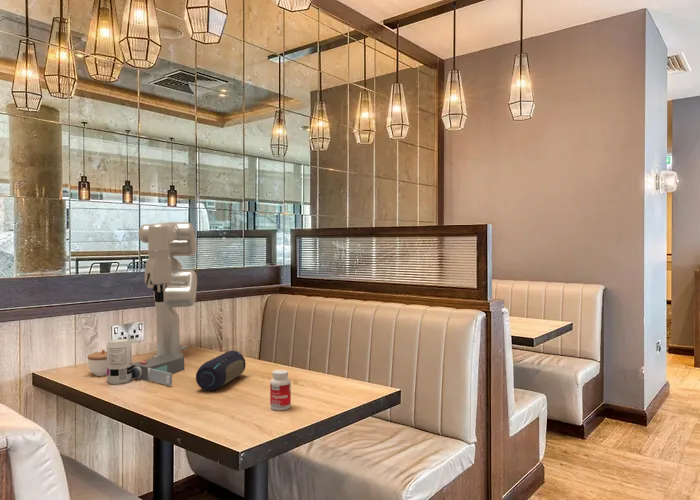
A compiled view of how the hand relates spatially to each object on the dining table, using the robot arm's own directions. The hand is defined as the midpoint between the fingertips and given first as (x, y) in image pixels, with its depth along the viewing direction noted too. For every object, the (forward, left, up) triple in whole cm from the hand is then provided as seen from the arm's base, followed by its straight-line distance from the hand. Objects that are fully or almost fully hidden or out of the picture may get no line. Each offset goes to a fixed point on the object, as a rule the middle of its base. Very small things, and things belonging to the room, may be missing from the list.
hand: (159, 301), depth 203 cm
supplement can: (+19, 0, -27) cm, 33 cm away
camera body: (+5, +4, -27) cm, 28 cm away
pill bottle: (+19, +70, -27) cm, 77 cm away
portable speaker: (+5, +36, -27) cm, 45 cm away
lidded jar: (+14, -15, -27) cm, 34 cm away
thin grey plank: (+15, +16, -27) cm, 35 cm away
